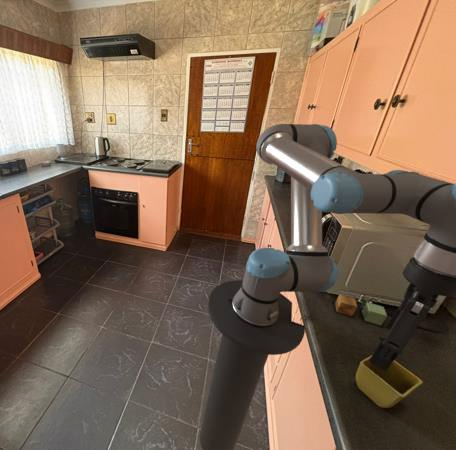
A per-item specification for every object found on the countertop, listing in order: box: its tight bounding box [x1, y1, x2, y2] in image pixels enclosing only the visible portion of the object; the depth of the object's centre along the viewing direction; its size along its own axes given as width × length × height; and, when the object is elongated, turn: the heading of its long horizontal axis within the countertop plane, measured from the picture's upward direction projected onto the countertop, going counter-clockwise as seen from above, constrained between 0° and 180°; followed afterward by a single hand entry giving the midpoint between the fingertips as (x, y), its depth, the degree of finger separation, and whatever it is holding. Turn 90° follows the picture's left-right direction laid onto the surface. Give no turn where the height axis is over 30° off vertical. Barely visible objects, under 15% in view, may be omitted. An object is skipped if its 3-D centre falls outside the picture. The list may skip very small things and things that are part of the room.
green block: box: [361, 301, 388, 326], centre depth 83 cm, size 4×4×4 cm
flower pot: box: [355, 354, 424, 409], centre depth 60 cm, size 9×9×9 cm
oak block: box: [334, 293, 358, 317], centre depth 86 cm, size 4×4×4 cm
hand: (385, 346), depth 53 cm, fingers open, 13 cm apart
